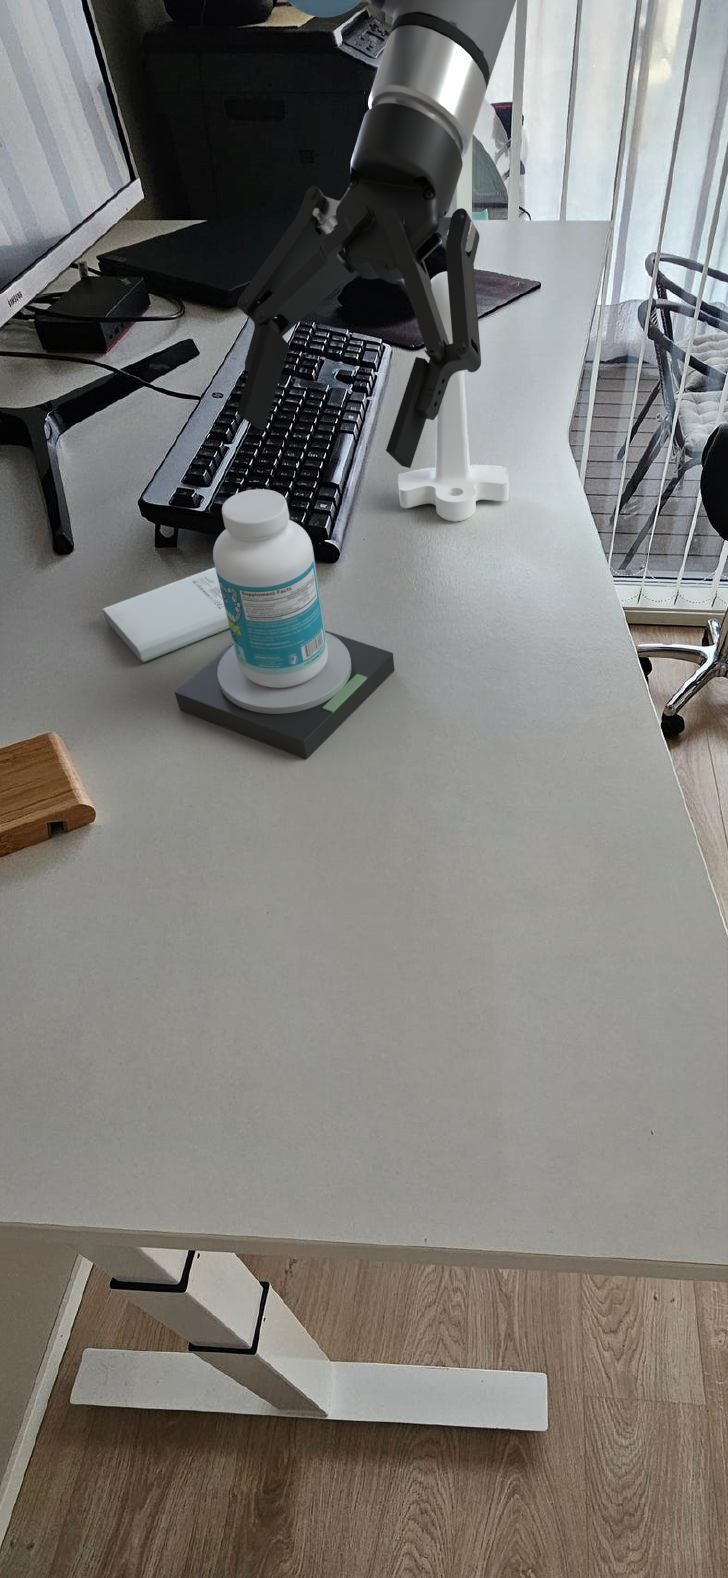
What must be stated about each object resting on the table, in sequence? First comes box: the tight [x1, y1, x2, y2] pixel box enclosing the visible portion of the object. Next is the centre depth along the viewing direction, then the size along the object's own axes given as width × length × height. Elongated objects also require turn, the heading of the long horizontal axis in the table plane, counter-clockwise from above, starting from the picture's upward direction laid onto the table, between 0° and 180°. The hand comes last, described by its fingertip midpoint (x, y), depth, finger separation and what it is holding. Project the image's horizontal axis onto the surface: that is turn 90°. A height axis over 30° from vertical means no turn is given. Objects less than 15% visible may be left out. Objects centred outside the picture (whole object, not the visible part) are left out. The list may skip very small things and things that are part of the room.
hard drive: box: [101, 566, 230, 663], centre depth 89 cm, size 2×8×12 cm
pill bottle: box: [212, 488, 328, 688], centre depth 76 cm, size 8×7×14 cm
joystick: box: [397, 270, 510, 522], centre depth 93 cm, size 11×8×20 cm
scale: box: [174, 630, 395, 760], centre depth 82 cm, size 13×13×2 cm
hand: (322, 441), depth 74 cm, fingers open, 13 cm apart
